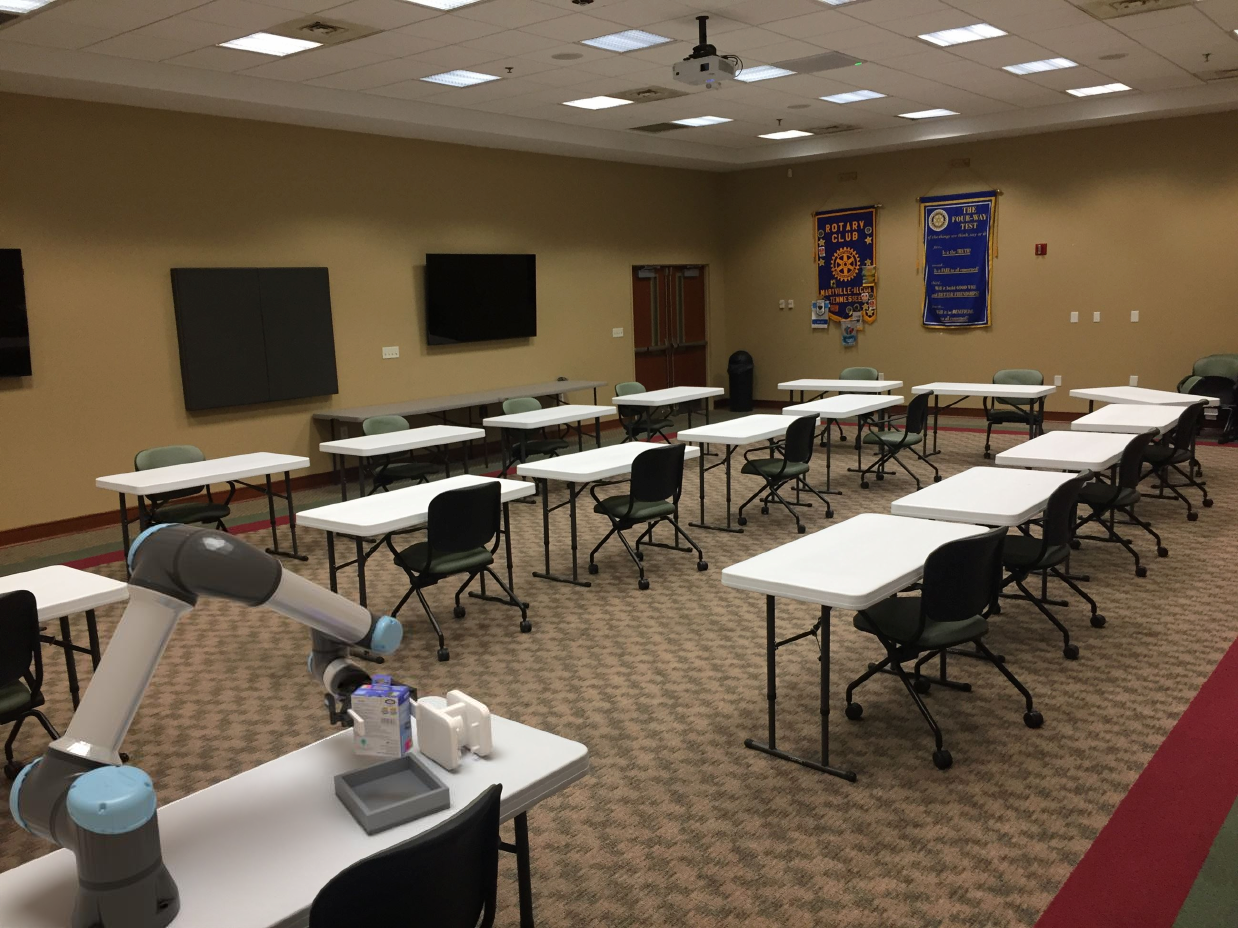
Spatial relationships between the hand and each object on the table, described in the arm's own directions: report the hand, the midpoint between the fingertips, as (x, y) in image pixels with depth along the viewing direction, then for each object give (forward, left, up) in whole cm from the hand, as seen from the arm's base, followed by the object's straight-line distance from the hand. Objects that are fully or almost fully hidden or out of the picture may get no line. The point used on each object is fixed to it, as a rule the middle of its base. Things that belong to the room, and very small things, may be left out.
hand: (390, 719), depth 175 cm
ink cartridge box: (0, +4, -8) cm, 9 cm away
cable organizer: (+18, +14, -18) cm, 30 cm away
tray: (0, +4, -18) cm, 19 cm away
